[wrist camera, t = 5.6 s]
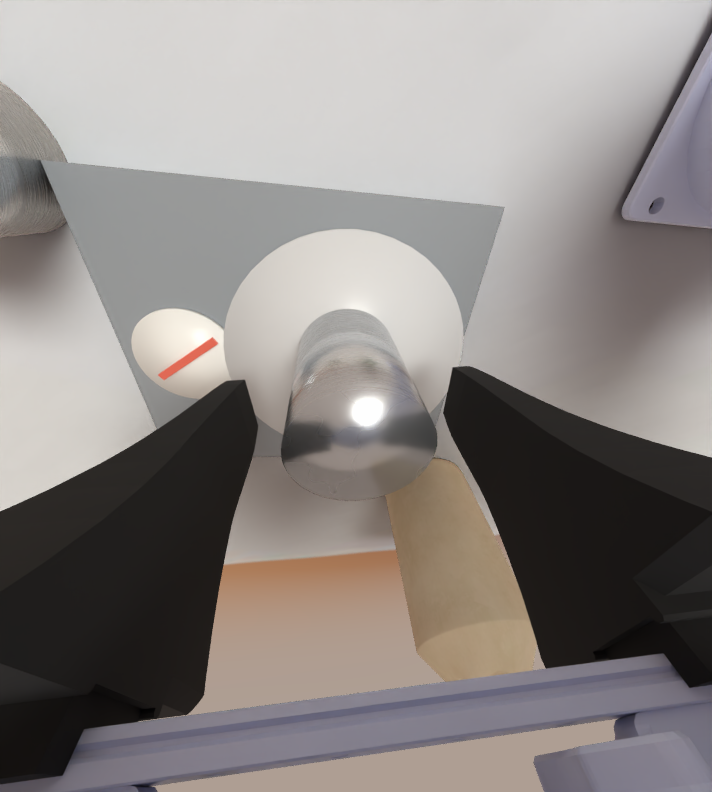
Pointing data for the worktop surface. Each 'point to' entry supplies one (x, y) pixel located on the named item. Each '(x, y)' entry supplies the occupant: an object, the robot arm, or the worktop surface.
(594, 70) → the worktop surface
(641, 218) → the robot arm
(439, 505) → the candle
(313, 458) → the cylinder
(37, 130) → the cylinder
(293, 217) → the scale
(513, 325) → the worktop surface
